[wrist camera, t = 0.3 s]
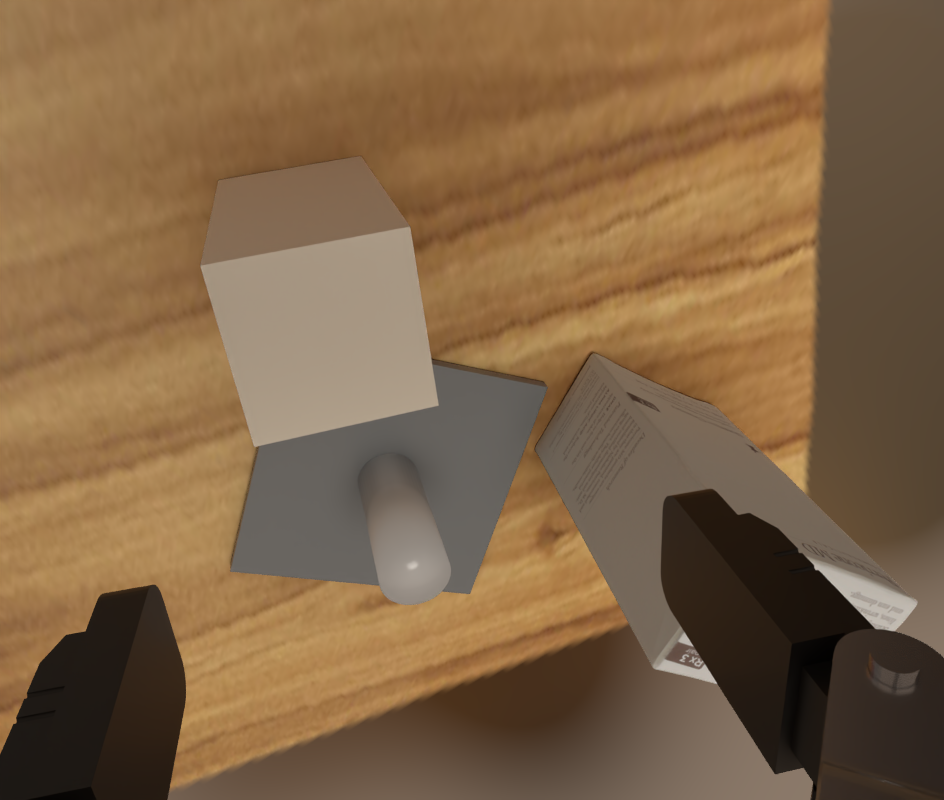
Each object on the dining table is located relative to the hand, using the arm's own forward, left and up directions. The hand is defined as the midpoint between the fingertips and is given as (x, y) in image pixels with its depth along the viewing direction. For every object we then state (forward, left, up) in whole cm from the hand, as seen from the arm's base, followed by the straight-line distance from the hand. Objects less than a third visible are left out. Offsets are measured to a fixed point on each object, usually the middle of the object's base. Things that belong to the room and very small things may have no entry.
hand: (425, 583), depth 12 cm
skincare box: (+6, +16, -22) cm, 28 cm away
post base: (+10, +5, -21) cm, 24 cm away
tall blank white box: (0, -1, -22) cm, 21 cm away
